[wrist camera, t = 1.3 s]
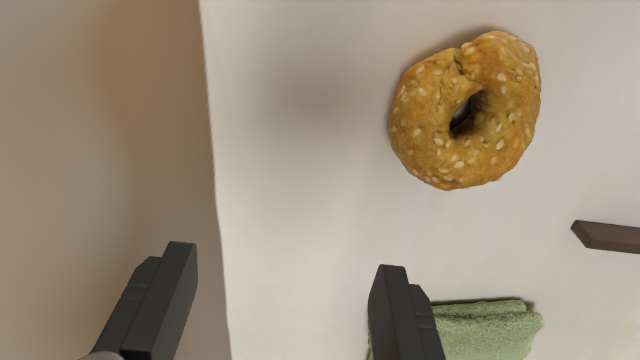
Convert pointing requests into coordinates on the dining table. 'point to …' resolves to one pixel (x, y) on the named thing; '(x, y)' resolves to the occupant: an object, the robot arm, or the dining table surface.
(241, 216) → the dining table surface
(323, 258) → the dining table surface
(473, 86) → the bagel
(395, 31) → the dining table surface
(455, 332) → the washcloth
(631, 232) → the bay
